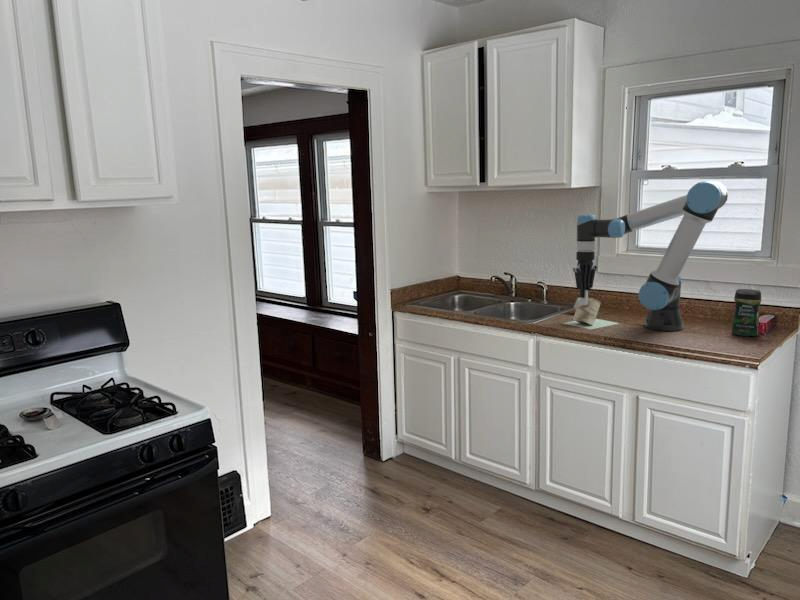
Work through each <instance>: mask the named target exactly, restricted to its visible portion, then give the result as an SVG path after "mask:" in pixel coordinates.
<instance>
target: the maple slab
mask: <svg viewBox="0 0 800 600" xmlns="http://www.w3.org/2000/svg"><path fill="white" fill-rule="evenodd" d="M579 298H580V300H579V303H578V306H577V309H576V310H575V313H574V315H573V318H572V321H576V322H578V323H582V324H587V325H592V326H593V325H594V322H595V319H597V315H598V313H599V310H600V307H601V304H602V302H601V300H598V299H597V298H594V297H588V305H581V297H579Z"/></svg>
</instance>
